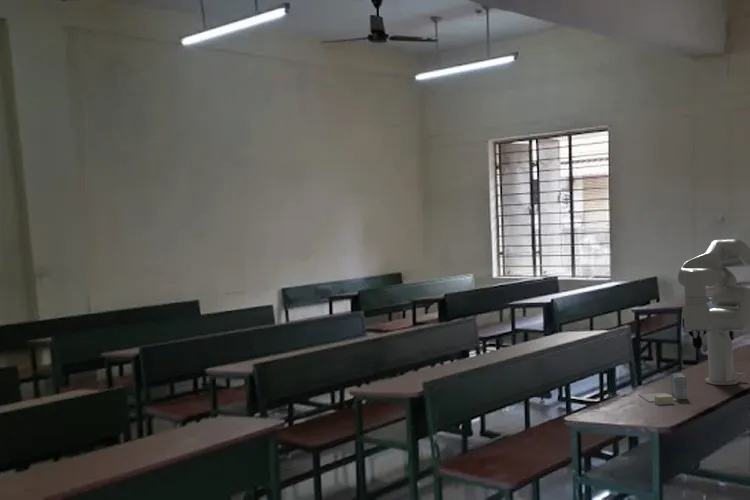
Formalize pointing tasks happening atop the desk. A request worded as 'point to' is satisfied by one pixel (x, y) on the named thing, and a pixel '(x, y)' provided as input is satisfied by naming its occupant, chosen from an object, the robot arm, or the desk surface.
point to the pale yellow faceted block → (664, 399)
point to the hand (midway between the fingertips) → (697, 347)
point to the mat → (652, 396)
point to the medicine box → (679, 386)
